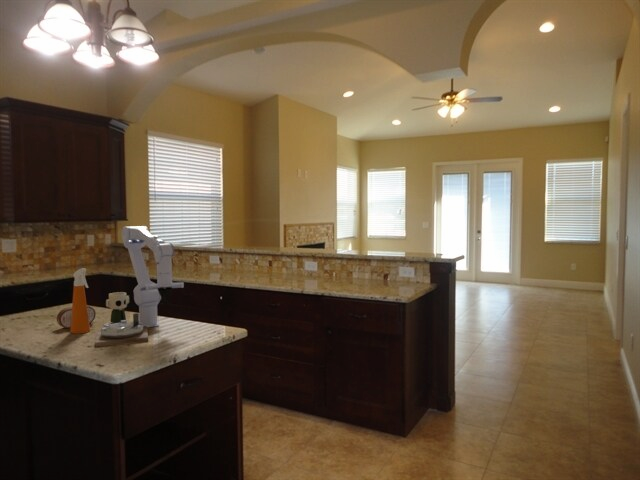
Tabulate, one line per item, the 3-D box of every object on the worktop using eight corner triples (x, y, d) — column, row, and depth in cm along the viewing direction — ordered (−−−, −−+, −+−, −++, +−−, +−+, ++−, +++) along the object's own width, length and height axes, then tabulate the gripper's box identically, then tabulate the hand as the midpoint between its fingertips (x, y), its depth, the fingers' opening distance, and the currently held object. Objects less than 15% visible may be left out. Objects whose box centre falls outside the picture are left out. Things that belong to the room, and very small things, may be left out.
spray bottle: (79, 336, 177) (77, 269, 175) (67, 331, 184) (65, 267, 182) (98, 332, 183) (96, 267, 181) (85, 328, 189) (83, 265, 188)
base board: (98, 333, 181) (98, 329, 181) (146, 329, 188) (146, 325, 188) (95, 346, 165) (95, 342, 164) (148, 341, 171) (148, 336, 171)
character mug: (111, 326, 192) (111, 296, 191) (101, 324, 196) (101, 294, 195) (134, 321, 201) (133, 292, 200) (124, 319, 205) (123, 290, 204)
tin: (93, 322, 200) (93, 303, 199) (96, 323, 198) (96, 304, 197) (56, 329, 188) (56, 309, 188) (59, 330, 186) (59, 310, 186)
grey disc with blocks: (98, 339, 167) (97, 320, 166) (104, 329, 181) (103, 311, 180) (141, 336, 171) (141, 317, 171) (144, 326, 186) (143, 309, 185)
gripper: (145, 275, 177) (146, 309, 178) (184, 273, 183) (185, 306, 183) (145, 273, 183) (146, 306, 184) (182, 271, 189) (183, 303, 190)
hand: (165, 306), depth 184 cm, fingers closed
